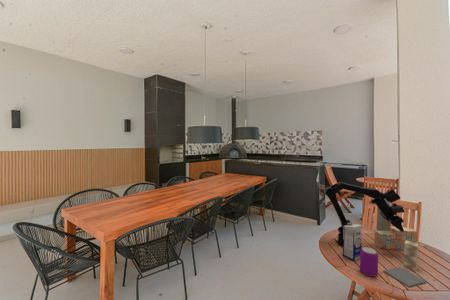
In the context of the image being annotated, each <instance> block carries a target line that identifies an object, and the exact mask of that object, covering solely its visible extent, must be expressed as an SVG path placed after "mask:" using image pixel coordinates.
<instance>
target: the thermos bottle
mask: <svg viewBox="0 0 450 300" xmlns="http://www.w3.org/2000/svg"><path fill="white" fill-rule="evenodd" d="M384 200H385V198H384ZM385 201H386V200H385ZM386 202H387V201H386ZM387 204H388V205H389V206H392V204H391V203H390V202H387ZM376 207H377V206H376ZM391 225H392V224H391V223H390V222H389V221H387V220H386V219H385V218H383V217H382V216H381V215H380V210H379V208H378V207H377V208H376V231H389V229H390V227H392V226H391Z"/></svg>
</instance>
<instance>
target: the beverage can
mask: <svg viewBox="0 0 450 300" xmlns="http://www.w3.org/2000/svg"><path fill="white" fill-rule="evenodd" d="M359 270H360V272H362V273H363V274H364V275H365V276H368V277H376V276H378V274H379V272H378V271H379V255H378V253H377V250H376V249H374V248H371V247H367V246H365V247H364V246H363V247H361V252H360V259H359Z"/></svg>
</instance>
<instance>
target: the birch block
mask: <svg viewBox="0 0 450 300" xmlns="http://www.w3.org/2000/svg"><path fill="white" fill-rule="evenodd" d="M403 251H404V253H403V254H404V256H403V257H404V258H403V267H404V268H407V269H410V270H413V271H417V269H418V259H419V243H418V242H417V243H414V242H411V241H407V240H406V242H405V250H403Z"/></svg>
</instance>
